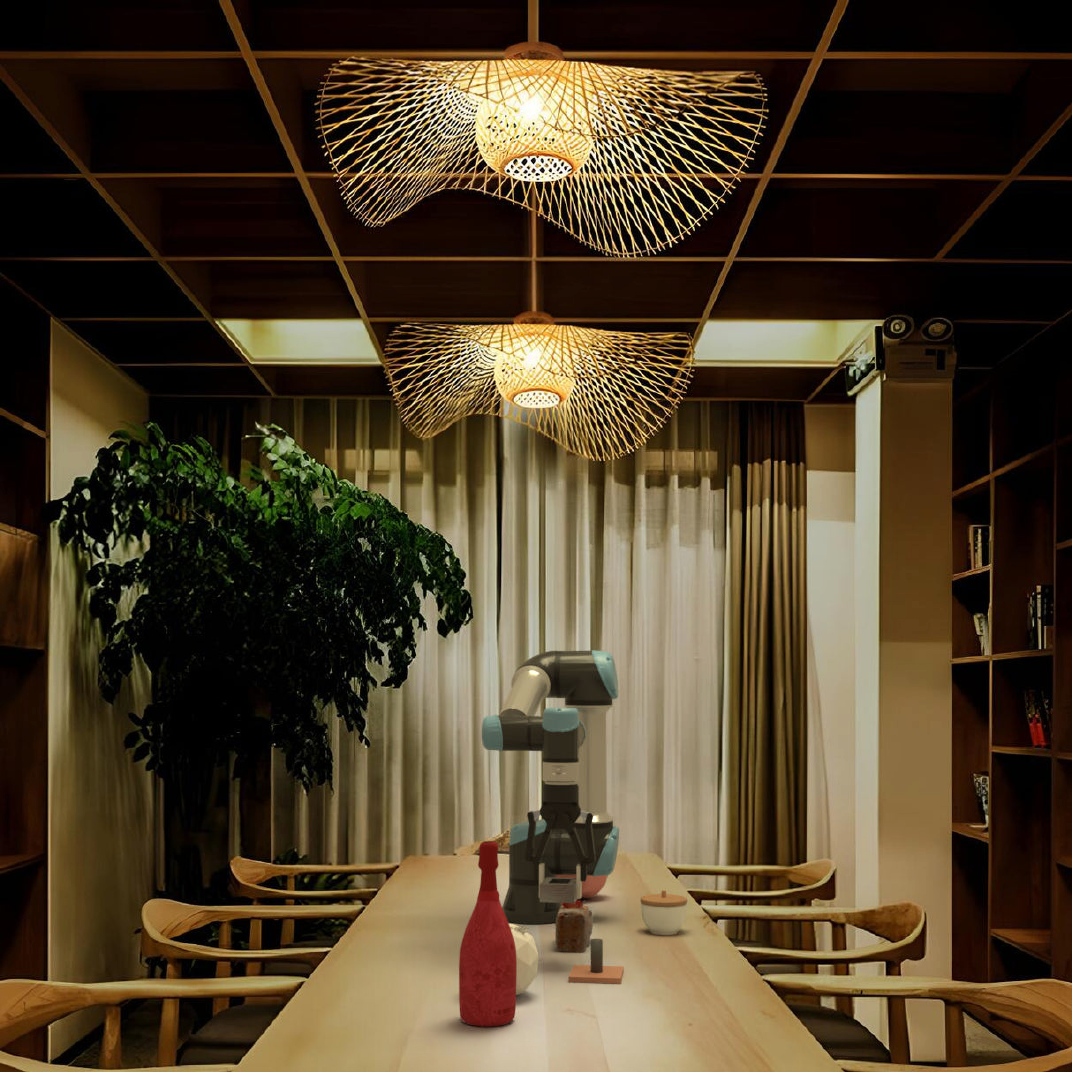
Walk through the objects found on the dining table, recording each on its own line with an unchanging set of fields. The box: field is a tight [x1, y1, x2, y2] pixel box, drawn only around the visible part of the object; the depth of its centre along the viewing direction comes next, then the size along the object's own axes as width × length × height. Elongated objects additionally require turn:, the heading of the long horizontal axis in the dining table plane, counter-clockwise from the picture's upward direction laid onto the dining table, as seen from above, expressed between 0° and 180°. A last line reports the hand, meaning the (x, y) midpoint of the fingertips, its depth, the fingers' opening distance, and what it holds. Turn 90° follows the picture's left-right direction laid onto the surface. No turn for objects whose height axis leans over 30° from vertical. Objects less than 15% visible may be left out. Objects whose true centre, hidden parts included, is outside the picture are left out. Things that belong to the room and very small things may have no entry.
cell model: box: [557, 875, 609, 899], centre depth 331 cm, size 17×20×11 cm
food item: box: [554, 899, 594, 953], centre depth 274 cm, size 14×8×10 cm, turn 176°
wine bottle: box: [458, 840, 517, 1028], centre depth 215 cm, size 10×10×30 cm
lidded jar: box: [640, 889, 688, 936], centre depth 288 cm, size 11×11×9 cm
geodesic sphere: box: [509, 923, 539, 996], centre depth 231 cm, size 14×14×14 cm
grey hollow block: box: [540, 877, 578, 903], centre depth 256 cm, size 10×7×4 cm
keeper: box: [568, 938, 625, 985], centre depth 245 cm, size 10×10×7 cm
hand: (560, 896), depth 255 cm, fingers closed on grey hollow block, 7 cm apart
